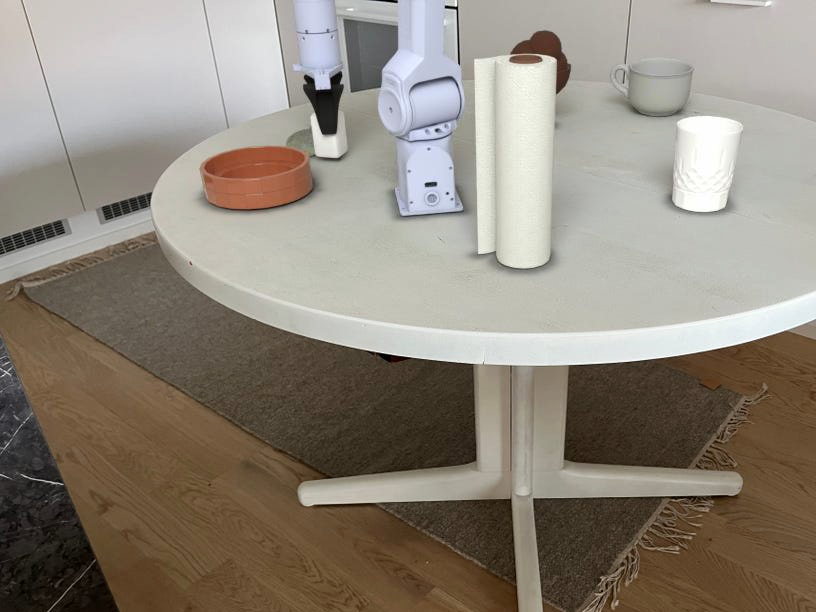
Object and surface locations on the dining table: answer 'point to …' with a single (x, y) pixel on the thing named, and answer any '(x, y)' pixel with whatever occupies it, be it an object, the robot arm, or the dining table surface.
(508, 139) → the paper towel roll
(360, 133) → the dining table surface
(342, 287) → the dining table surface
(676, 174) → the white cup
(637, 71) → the teacup
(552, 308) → the dining table surface
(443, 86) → the robot arm
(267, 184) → the clay bowl
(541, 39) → the brown rounded tall piece
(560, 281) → the dining table surface
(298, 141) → the soupspoon
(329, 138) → the pepper shaker
